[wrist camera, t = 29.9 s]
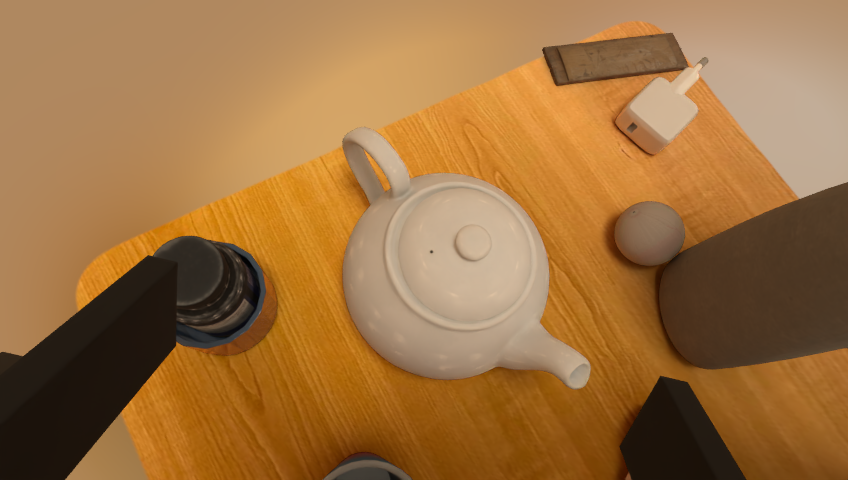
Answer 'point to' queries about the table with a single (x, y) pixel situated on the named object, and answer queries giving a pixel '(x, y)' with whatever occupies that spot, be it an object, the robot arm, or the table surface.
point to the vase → (763, 287)
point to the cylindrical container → (247, 334)
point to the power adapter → (660, 111)
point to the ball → (649, 233)
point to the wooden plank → (614, 58)
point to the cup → (366, 469)
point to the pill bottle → (211, 285)
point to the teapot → (448, 274)
